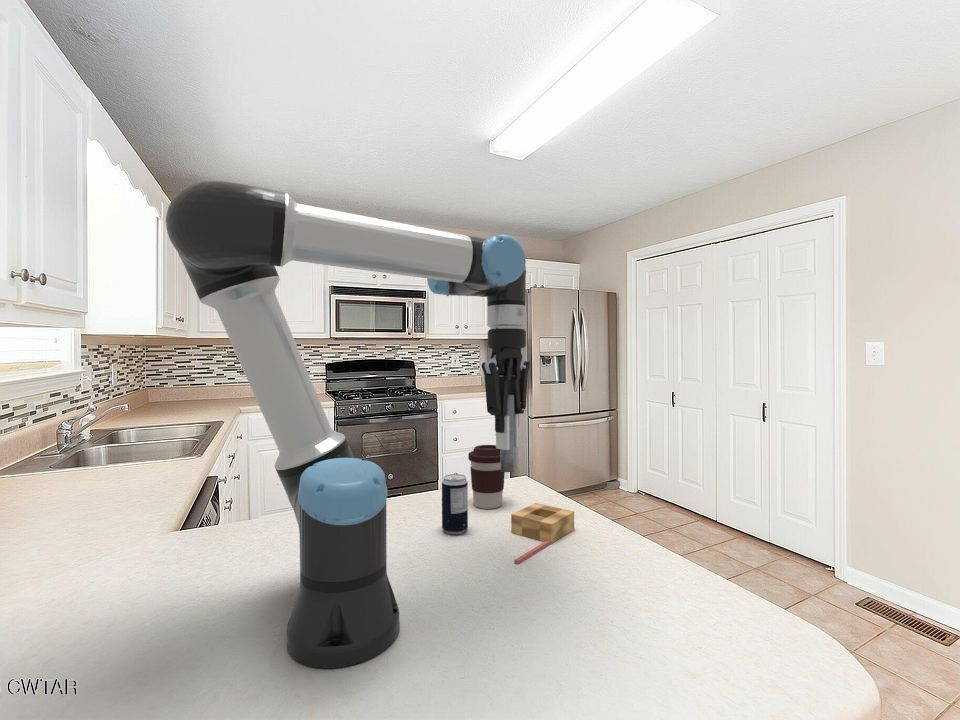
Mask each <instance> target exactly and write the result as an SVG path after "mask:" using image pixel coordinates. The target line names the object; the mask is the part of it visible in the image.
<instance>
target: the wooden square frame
mask: <svg viewBox="0 0 960 720" xmlns="http://www.w3.org/2000/svg"><path fill="white" fill-rule="evenodd" d="M510 522H511V524H510V525H511V527H510V528H511V533H512V534H516V535H518V536H519V535H520V536H522V537H526V538H529V539H533V540H537V541H540V542H542V543H543V542H545V541H547V540H550V541H551V544H550V545H552V544H554V543H555V542H556V541H558V540H559V539H561V538H563V537H565V536H566V535H568V534H569V533H571V532H573V531H574V530H575V511H573V510H569V509H565V508H560V507H557V506H551V505H547V504H543V503H538V502H534V503H532V504H530V505H528V506H526V507H523V508H521V509H520V510H517V511H515V512H513V513H511V516H510Z"/></svg>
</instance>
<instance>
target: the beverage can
mask: <svg viewBox="0 0 960 720" xmlns="http://www.w3.org/2000/svg"><path fill="white" fill-rule="evenodd" d="M468 484H469V482H468V480H467V476H466V475H465V474H460V473H450V474H446V475H444V476H443V479H442V482H441V529H442V530H443V531H444V532H445V533H446V534H448V535H453V536H454V535H461V534H463V533H465V531H466V530H467V529H468V528H469V517H468V516H469V513H468V511H469V507H468V506H469V505H468V504H469V503H468V498H469V496H468V494H469V493H468V488H469V487H468V486H469V485H468Z"/></svg>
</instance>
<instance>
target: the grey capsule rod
mask: <svg viewBox="0 0 960 720" xmlns="http://www.w3.org/2000/svg"><path fill="white" fill-rule="evenodd" d="M506 416H509V447H510V450H503V449H500V465H501V471H502V472H505V473H513V472H515V470H516V469H515V466H516V465H515V464H516V463H515V462H516V460H515V459H516V458H515V455H516V454H515V453H516V452H515V451H516V450H515V448H516V447H515V422H514V394H508V398H507V413H506Z"/></svg>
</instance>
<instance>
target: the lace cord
mask: <svg viewBox="0 0 960 720" xmlns="http://www.w3.org/2000/svg"><path fill="white" fill-rule="evenodd" d="M549 545H552V544H551V541H550V540H547V541H545V542H543V541H542V543H540V544H538V545H536V546H535V547H533V548H532V549H530V550H528V551H527V552H525V553H523V554H522V555H520V556H518V557H517V558H515V559H514V564H516V565H519V564H521V563H522V562H524V561H525V560H527V559H529V558H531V557H532V556H534V555H535V554H536V553H538V552H540V551H542V550H543V549H545V548H547V547H548V546H549Z"/></svg>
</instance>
